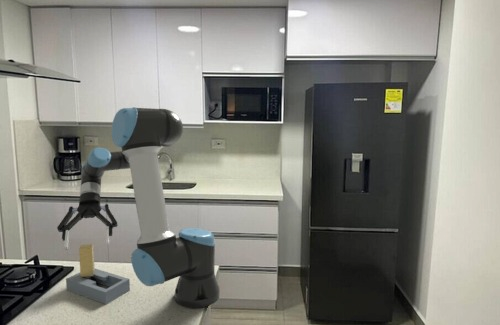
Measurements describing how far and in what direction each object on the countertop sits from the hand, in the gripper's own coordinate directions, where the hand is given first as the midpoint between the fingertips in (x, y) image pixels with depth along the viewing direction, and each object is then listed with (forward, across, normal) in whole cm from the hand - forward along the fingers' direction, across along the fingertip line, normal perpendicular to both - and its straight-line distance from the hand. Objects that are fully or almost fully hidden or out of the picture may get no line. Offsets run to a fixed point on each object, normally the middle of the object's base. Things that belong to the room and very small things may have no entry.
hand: (87, 246), depth 119 cm
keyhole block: (+15, -4, -5) cm, 16 cm away
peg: (+12, 0, -7) cm, 14 cm away
